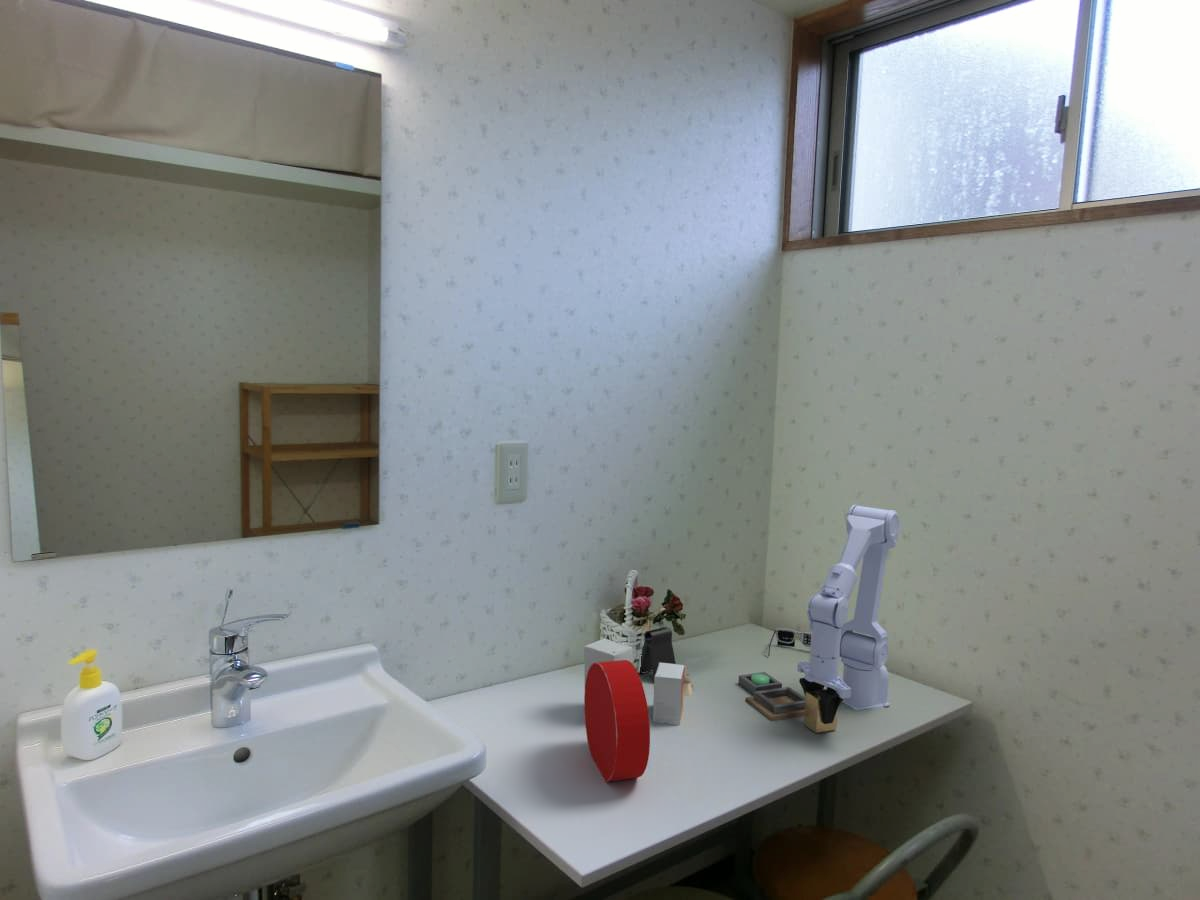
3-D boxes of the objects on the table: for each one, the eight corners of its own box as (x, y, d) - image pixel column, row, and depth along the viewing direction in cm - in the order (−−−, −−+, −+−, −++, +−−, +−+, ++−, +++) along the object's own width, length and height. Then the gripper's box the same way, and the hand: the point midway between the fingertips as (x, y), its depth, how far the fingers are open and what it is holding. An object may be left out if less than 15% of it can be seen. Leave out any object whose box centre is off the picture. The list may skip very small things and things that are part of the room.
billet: (823, 720, 161) (825, 688, 160) (836, 729, 157) (838, 696, 156) (803, 724, 159) (805, 691, 158) (816, 733, 155) (818, 699, 154)
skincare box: (632, 720, 159) (635, 647, 157) (611, 730, 154) (613, 655, 152) (603, 707, 164) (605, 636, 163) (581, 717, 160) (583, 644, 158)
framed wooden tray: (790, 694, 174) (791, 684, 173) (819, 713, 164) (819, 702, 164) (745, 701, 169) (745, 690, 169) (771, 721, 160) (772, 710, 160)
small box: (679, 729, 155) (681, 679, 154) (652, 725, 157) (654, 676, 155) (683, 712, 163) (685, 664, 162) (657, 709, 164) (659, 661, 163)
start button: (762, 681, 179) (762, 672, 179) (772, 688, 175) (772, 679, 175) (747, 684, 177) (748, 674, 177) (757, 691, 174) (757, 681, 174)
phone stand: (678, 683, 178) (681, 632, 177) (659, 688, 175) (661, 637, 173) (654, 670, 186) (656, 621, 184) (634, 675, 182) (636, 626, 181)
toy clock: (647, 800, 129) (652, 686, 127) (614, 805, 128) (618, 689, 126) (612, 744, 148) (615, 643, 146) (582, 747, 147) (585, 646, 145)
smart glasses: (823, 645, 204) (823, 628, 203) (814, 673, 192) (814, 655, 190) (777, 637, 209) (777, 620, 208) (765, 664, 196) (766, 646, 195)
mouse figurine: (673, 684, 178) (674, 656, 177) (698, 696, 171) (699, 667, 171) (656, 690, 174) (658, 661, 174) (682, 702, 168) (683, 673, 167)
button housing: (764, 680, 181) (764, 672, 181) (781, 693, 174) (782, 683, 174) (738, 684, 178) (738, 675, 178) (755, 697, 172) (755, 687, 172)
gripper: (786, 643, 161) (783, 705, 163) (831, 669, 148) (827, 736, 149) (814, 640, 164) (810, 701, 165) (861, 665, 151) (856, 731, 152)
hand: (820, 717), depth 158 cm, fingers closed on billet, 4 cm apart
